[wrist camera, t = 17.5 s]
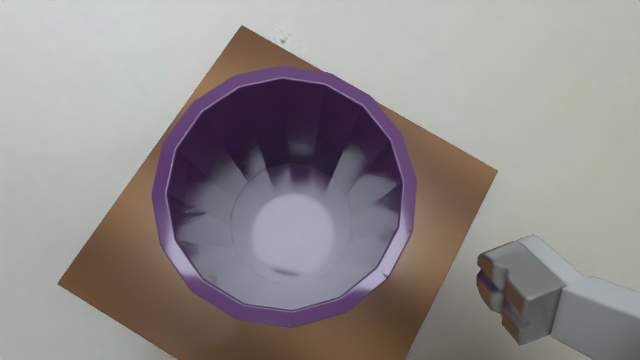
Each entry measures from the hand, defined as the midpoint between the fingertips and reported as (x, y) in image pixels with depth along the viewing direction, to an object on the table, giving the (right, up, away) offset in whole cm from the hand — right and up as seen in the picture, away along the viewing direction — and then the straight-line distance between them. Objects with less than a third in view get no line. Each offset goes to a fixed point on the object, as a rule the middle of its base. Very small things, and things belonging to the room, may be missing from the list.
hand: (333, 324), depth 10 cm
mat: (-2, +1, +10) cm, 11 cm away
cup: (-2, +1, +10) cm, 10 cm away
